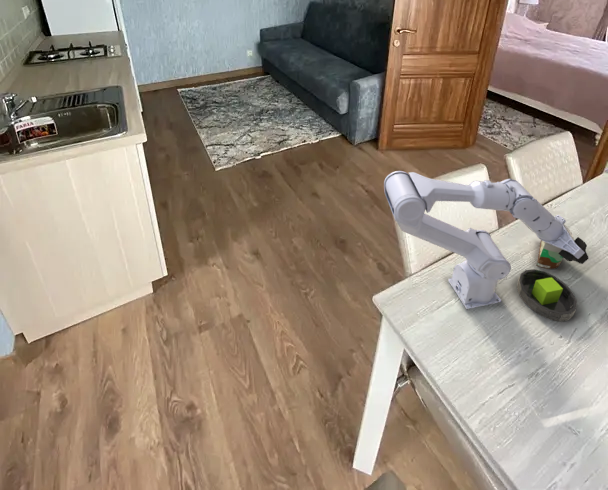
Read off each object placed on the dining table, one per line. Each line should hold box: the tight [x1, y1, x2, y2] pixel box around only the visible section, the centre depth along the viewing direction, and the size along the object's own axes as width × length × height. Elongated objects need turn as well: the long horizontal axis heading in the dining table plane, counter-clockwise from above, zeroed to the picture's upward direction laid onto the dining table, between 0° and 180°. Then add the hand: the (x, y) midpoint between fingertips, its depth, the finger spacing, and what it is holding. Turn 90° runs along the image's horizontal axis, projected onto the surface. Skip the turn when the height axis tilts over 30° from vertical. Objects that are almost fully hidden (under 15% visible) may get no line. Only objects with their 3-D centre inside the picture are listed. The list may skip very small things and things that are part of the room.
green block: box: [532, 277, 563, 305], centre depth 83 cm, size 4×3×4 cm
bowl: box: [516, 268, 578, 323], centre depth 84 cm, size 12×12×3 cm
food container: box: [535, 224, 575, 270], centre depth 93 cm, size 12×6×10 cm, turn 143°
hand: (569, 248), depth 82 cm, fingers open, 7 cm apart
